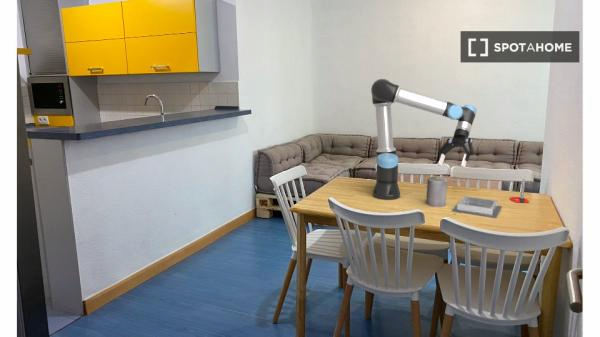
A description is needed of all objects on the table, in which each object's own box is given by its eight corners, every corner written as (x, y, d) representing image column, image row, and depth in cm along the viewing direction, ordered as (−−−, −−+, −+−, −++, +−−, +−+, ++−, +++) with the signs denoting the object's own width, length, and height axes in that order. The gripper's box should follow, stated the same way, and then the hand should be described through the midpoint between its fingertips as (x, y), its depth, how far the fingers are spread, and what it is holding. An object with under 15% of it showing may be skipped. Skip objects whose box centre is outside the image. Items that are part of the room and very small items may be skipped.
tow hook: (507, 198, 222) (513, 202, 213) (509, 175, 220) (515, 178, 211) (523, 199, 221) (530, 203, 212) (526, 175, 219) (533, 179, 210)
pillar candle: (424, 201, 219) (425, 174, 215) (443, 201, 218) (444, 174, 214) (428, 207, 209) (429, 179, 206) (448, 207, 208) (449, 178, 205)
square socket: (452, 211, 201) (452, 204, 201) (460, 202, 216) (460, 195, 215) (496, 218, 191) (497, 210, 190) (501, 207, 205) (502, 200, 205)
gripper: (487, 134, 215) (476, 170, 210) (445, 135, 235) (434, 168, 229) (481, 126, 211) (469, 163, 205) (438, 128, 231) (427, 161, 225)
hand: (451, 165), depth 217 cm, fingers open, 13 cm apart
